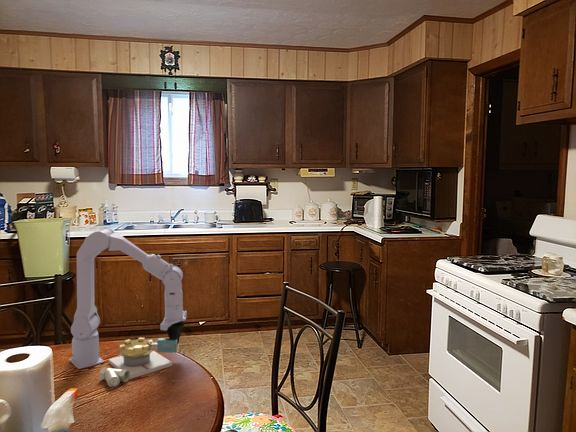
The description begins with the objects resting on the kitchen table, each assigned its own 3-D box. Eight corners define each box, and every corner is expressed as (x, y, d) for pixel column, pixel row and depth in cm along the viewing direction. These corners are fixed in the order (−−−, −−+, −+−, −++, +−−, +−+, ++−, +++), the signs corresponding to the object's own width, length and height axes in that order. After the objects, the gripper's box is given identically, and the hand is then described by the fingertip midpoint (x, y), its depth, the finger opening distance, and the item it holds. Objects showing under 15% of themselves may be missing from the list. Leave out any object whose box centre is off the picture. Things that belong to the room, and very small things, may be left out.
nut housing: (108, 362, 147) (108, 350, 147) (149, 351, 157) (149, 339, 156) (129, 379, 135) (128, 365, 135) (171, 365, 145) (171, 353, 144)
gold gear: (114, 357, 140) (114, 344, 140) (127, 345, 150) (127, 333, 150) (172, 358, 139) (171, 345, 139) (181, 346, 149) (180, 333, 149)
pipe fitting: (117, 391, 129) (130, 379, 136) (116, 378, 129) (129, 367, 135) (92, 388, 131) (107, 376, 138) (91, 375, 131) (105, 364, 137)
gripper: (174, 311, 141) (175, 353, 142) (194, 299, 155) (195, 337, 156) (153, 310, 142) (155, 351, 144) (175, 297, 156) (176, 336, 158)
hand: (174, 344), depth 150 cm, fingers closed
